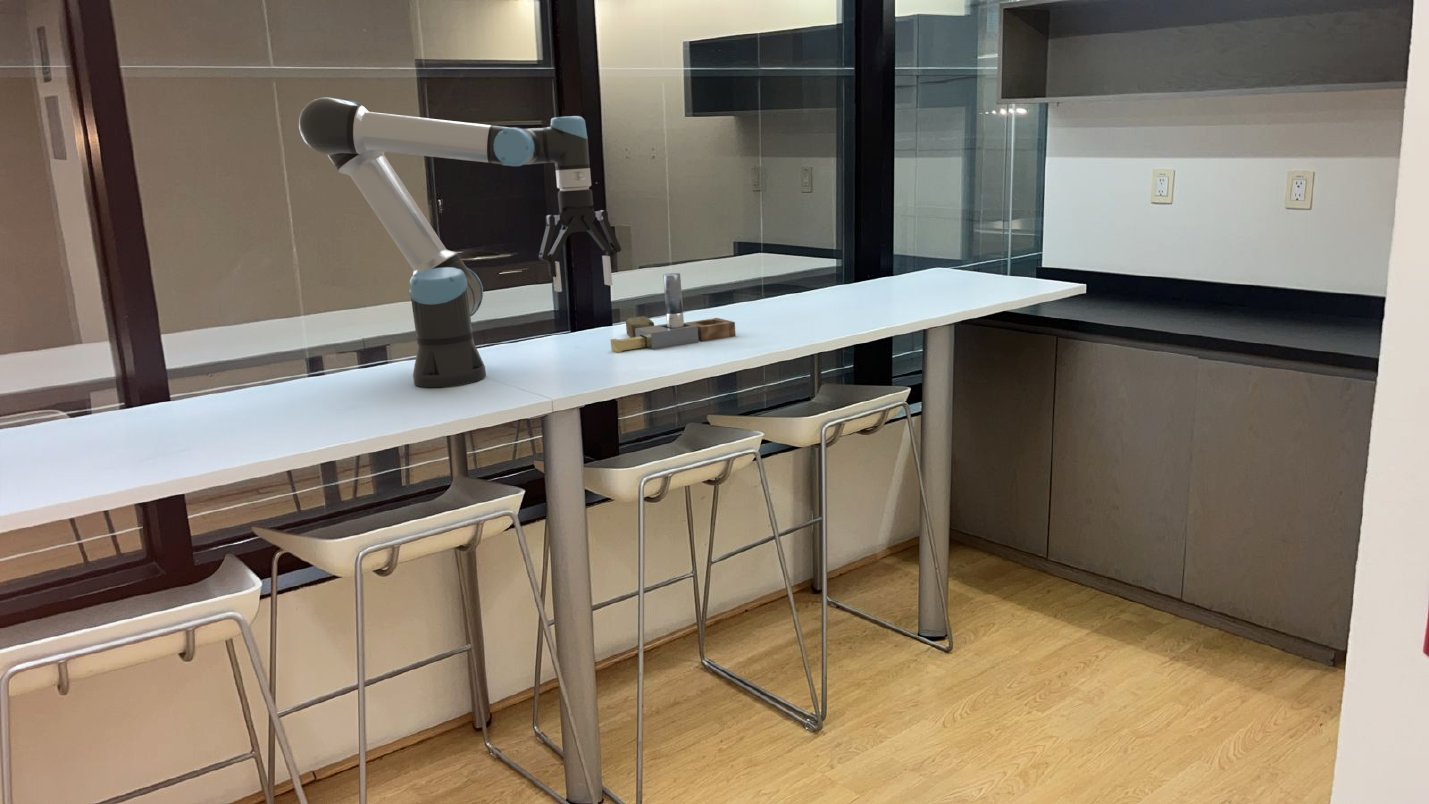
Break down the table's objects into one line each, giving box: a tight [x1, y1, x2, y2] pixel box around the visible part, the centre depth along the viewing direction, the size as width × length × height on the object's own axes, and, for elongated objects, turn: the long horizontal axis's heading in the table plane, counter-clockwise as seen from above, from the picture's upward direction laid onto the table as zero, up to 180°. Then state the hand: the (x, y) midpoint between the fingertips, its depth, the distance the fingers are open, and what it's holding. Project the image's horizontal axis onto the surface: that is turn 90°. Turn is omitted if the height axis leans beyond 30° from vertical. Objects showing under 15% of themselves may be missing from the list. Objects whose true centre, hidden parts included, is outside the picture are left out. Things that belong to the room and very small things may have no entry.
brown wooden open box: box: [685, 317, 736, 342], centre depth 254 cm, size 9×9×4 cm
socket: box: [635, 322, 700, 351], centre depth 249 cm, size 12×9×4 cm
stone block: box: [625, 315, 655, 338], centre depth 261 cm, size 6×12×5 cm, turn 14°
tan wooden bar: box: [610, 336, 647, 354], centre depth 245 cm, size 9×3×3 cm, turn 118°
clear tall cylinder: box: [662, 272, 685, 329], centre depth 249 cm, size 4×4×16 cm
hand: (583, 288), depth 238 cm, fingers open, 11 cm apart
